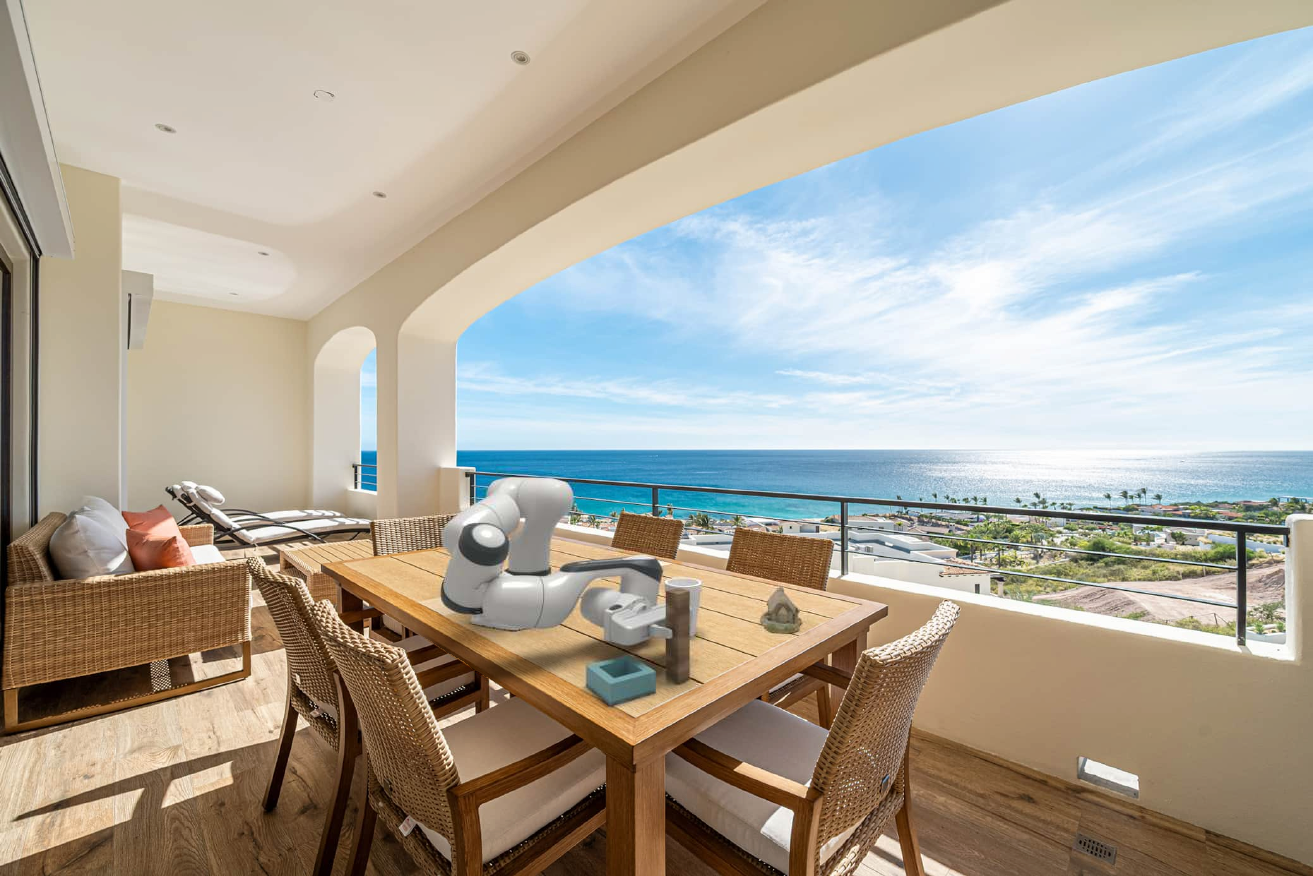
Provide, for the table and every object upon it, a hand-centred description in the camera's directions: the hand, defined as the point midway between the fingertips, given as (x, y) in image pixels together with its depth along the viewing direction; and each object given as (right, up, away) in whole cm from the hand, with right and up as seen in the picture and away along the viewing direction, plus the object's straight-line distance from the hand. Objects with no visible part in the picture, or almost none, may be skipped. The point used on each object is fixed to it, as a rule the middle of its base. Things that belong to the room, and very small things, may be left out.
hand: (680, 631), depth 109 cm
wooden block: (-1, -10, 0) cm, 10 cm away
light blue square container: (-12, -10, -4) cm, 16 cm away
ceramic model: (+29, -11, +35) cm, 46 cm away
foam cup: (+2, -11, +28) cm, 30 cm away
